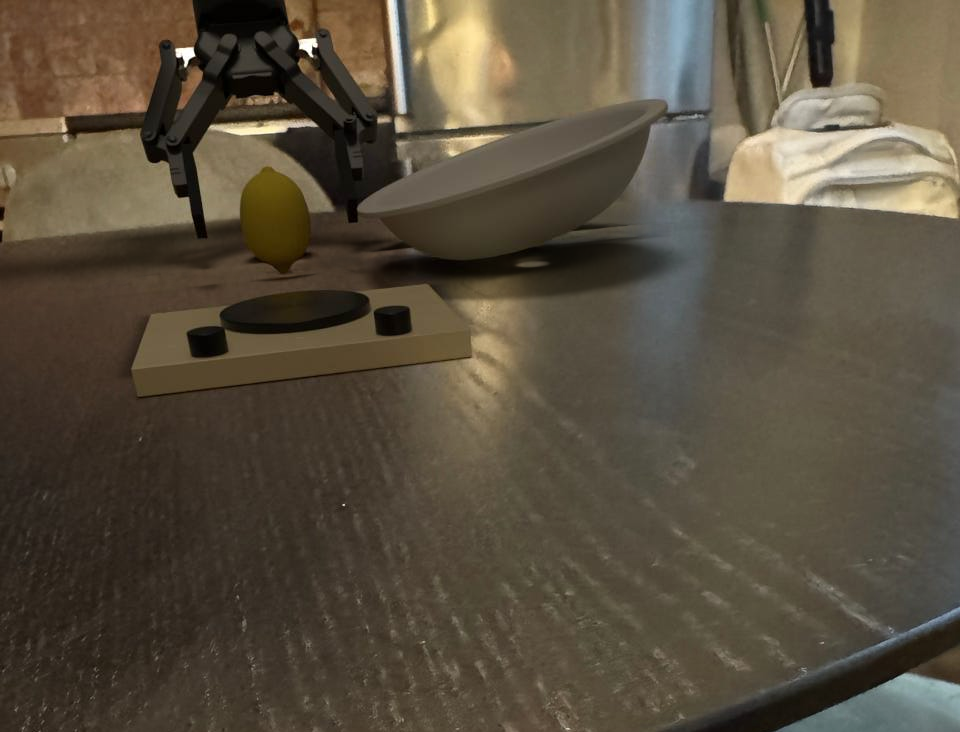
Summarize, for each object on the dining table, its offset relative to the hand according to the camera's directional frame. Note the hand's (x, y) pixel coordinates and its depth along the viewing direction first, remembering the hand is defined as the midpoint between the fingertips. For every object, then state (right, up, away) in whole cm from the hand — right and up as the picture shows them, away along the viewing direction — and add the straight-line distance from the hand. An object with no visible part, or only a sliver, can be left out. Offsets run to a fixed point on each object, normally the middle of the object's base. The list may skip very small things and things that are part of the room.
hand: (277, 219), depth 77 cm
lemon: (0, -3, +5) cm, 5 cm away
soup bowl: (+20, -2, 0) cm, 20 cm away
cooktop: (+5, -15, -18) cm, 24 cm away
